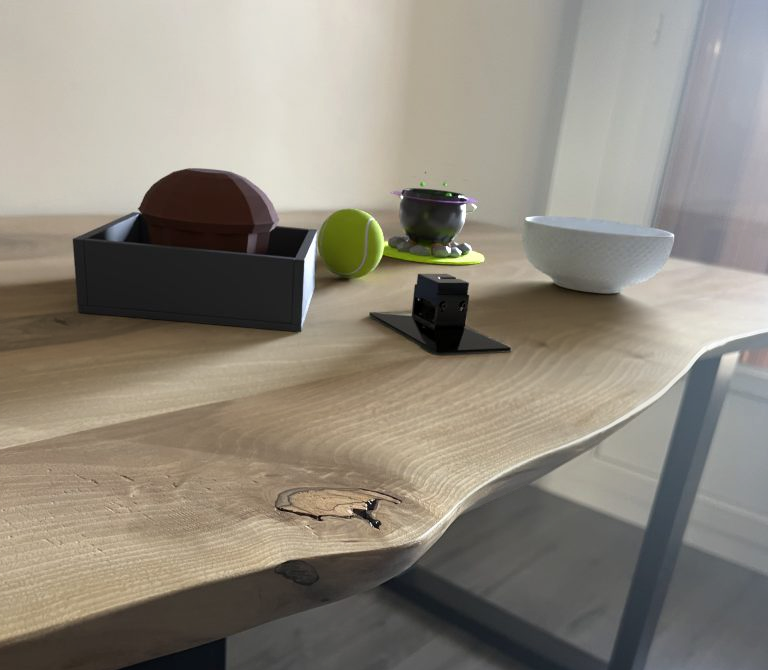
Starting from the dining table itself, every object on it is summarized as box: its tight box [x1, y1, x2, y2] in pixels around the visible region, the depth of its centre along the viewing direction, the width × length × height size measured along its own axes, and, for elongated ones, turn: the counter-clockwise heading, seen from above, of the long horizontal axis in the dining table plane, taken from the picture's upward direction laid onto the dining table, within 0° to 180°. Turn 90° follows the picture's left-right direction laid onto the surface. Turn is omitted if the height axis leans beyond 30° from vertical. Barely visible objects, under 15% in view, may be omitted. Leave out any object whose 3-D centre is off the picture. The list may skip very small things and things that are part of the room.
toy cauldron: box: [382, 163, 485, 265], centre depth 105 cm, size 15×15×11 cm
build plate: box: [368, 273, 512, 356], centre depth 68 cm, size 12×7×5 cm, turn 27°
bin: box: [72, 211, 319, 333], centre depth 71 cm, size 18×18×6 cm
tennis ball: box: [317, 208, 385, 279], centre depth 86 cm, size 7×7×7 cm
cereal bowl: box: [521, 215, 675, 294], centre depth 95 cm, size 17×17×7 cm
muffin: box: [137, 167, 281, 255], centre depth 70 cm, size 12×11×10 cm
